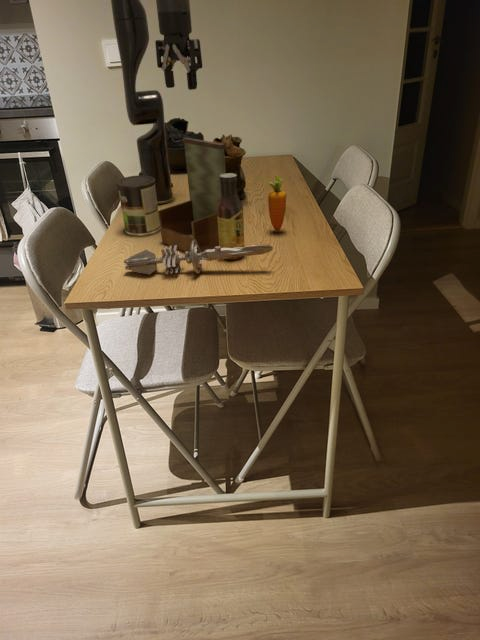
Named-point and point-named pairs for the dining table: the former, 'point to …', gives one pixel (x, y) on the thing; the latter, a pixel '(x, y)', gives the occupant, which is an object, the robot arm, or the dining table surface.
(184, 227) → the bottle rack
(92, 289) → the dining table surface
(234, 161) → the pottery vessel
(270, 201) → the carrot
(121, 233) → the dining table surface
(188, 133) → the coal bowl
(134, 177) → the coffee can
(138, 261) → the spaceship
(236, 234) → the sauce bottle
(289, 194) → the dining table surface
